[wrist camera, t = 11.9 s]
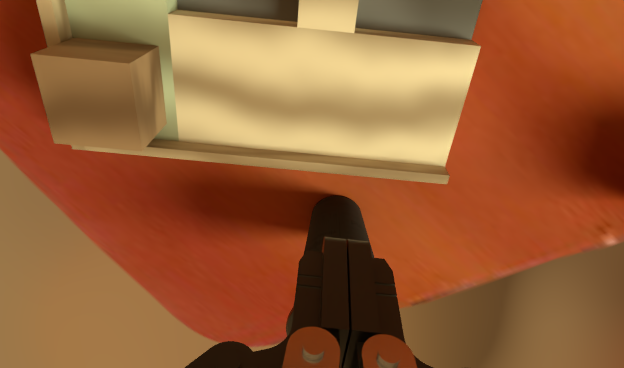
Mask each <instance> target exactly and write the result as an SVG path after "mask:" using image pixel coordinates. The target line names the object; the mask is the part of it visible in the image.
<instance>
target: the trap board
mask: <svg viewBox="0 0 624 368" xmlns="http://www.w3.org/2000/svg"><path fill="white" fill-rule="evenodd" d="M36 2H37V6H38V10H39V15H40V19H41V23H42V27H43V31H44V35H45V39H46V43H47V47H50V46H53V45H56V44H59V43H61V42H64V41H67V40H69V39H72V38H83V39H93V40H103V41H113V42H123V43H134V44H144V45H154V46H159V54H160V63H161V73H162V82H163V92H164V102H165V111H166V121H167V124H166V125H165V126H164V127H163V128H162V130H161V131H160V132H159V133H158V134H157V135H156V136H155V137H154V139H153V140H152V141H151V142H150V143H149V144H148V145H147V146H146V148H145V149H144V150H143V151H132V150H122V149H111V148H100V147H90V146H79V145H71V146H72V149H79V150H90V151H100V152H111V153H121V154H132V155H143V156H153V157H164V158H174V159H185V160H196V161H206V162H217V163H227V164H238V165H249V166H259V167H270V168H280V169H291V170H302V171H312V172H323V173H334V174H344V175H355V176H365V177H376V178H387V179H397V180H408V181H418V182H429V183H440V184H447V182H448V179H449V176H450V175H449V174H448V172H447V170H446V168H445V164H446V161H447V157H448V154H449V151H450V148H451V144H452V141H453V138H454V134H455V131H456V128H457V124H458V121H459V118H460V114H461V111H462V108H463V104H464V101H465V98H466V94H467V91H468V88H469V85H470V81H471V78H472V75H473V71H474V68H475V65H476V61H477V58H478V55H479V51H480V48H481V46H480V45H478V44H477V43H475V42H474V41H472V40H471V39H472V35H473V32H474V28H475V25H476V21H477V18H478V14H479V11H480V7H481V4H482V0H36Z"/></svg>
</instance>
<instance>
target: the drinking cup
mask: <svg viewBox="0 0 624 368" xmlns="http://www.w3.org/2000/svg"><path fill="white" fill-rule="evenodd" d="M324 237H331V238H340V239H346V242H347V239H350V240H359V241H368V242H369V238H368V235H367V231H366V228H365V225H364V221H363V218H362V214H361V211H360V208H359V207H358V205H357V204H356V203H355V202H354V201H352V200H351V199H349V198H347V197H343V196H330V197H327V198H325V199H323V200H321V201H320V202H318V203H317V204H316V206H315V207H314V209H313V212H312V217H311V222H310V227H309V232H308V237H307V242H306V246H305V251H304V254H305V253H306V251H315V252H322V247H323V240H324ZM370 246H371V245H370ZM371 255H372V258H374V255H373V252H372V248H371ZM294 303H295V301H294ZM293 312H294V306H293V308H292V310H291V311H290V313H289V315H288V318H287V324H286V333H287V336H288V335H289V333H290V331H291V327H292V320H293Z"/></svg>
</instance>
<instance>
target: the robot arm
mask: <svg viewBox="0 0 624 368" xmlns="http://www.w3.org/2000/svg"><path fill="white" fill-rule="evenodd" d="M396 296H397V294H396V288H395V282H394V276H393V271H392V270H391V268H390V267H389V265H388V264H387V262H386V261H385V259H379V258H372V255H371V246H370V242H368V241H359V240H350V239H347V242H346V239H340V238H331V237H324V240H323V247H322V252H315V251H306V253H305V254H304V255H303V257H302V258H301V259H300V261H299V268H298V277H297V286H296V294H295V303H294V312H293V320H292V327H291V331H290V333H289V335H288V336H287V337H286V339H285V340H284V341H283V342H281V343H280V344H278V345H277V346H274V347H272V348H269V349H265V350H260V351H255V352H253V351H252V350H251V349H250V348H249V347H247V346H246V345H244V344H242V343H239V342H234V341H228V342H222V343H219V344H217V345H215V346H213V347H212V348H210V349H209V350H207V351H206V352H205V353H203V354H202V355H201V356H199V357H198V358H197V359H195V360H194V361H193V362H191V363H190V364H189V365H188V366H186V367H185V368H433V367H430V366H428V365H426V364H425V363H423V362H421V361H420V360H419V359H417V358H416V357H415V356H414V355H413V353H412V351H411V349H410V348H409V347H408V346H407V345H406V343H405V340H404V335H403V329H402V323H401V317H400V312H399V306H398V300H397V297H396Z"/></svg>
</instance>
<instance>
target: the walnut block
mask: <svg viewBox="0 0 624 368" xmlns="http://www.w3.org/2000/svg"><path fill="white" fill-rule="evenodd" d="M30 55H31V59H32V63H33V66H34V70H35V74H36V77H37V81H38V85H39V89H40V92H41V96H42V100H43V103H44V107H45V111H46V115H47V118H48V122H49V126H50V130H51V133H52V137H53V141H54V143H58V144H68V145H79V146H90V147H100V148H111V149H122V150H132V151H143V150H144V149H145V148H146V146H147V145H148V144H149V143H150V142H151V141H152V140H153V139H154V137H155V136H156V135H157V134H158V133H159V132H160V131H161V130H162V128H163V127H164V126H165V125H166V124H167V121H166V111H165V102H164V92H163V82H162V73H161V63H160V54H159V46H154V45H144V44H134V43H123V42H113V41H103V40H93V39H83V38H72V39H69V40H67V41H64V42H61V43H59V44H56V45H53V46H50V47H48V48H45V49H42V50H39V51H37V52H34V53H31V54H30Z"/></svg>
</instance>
